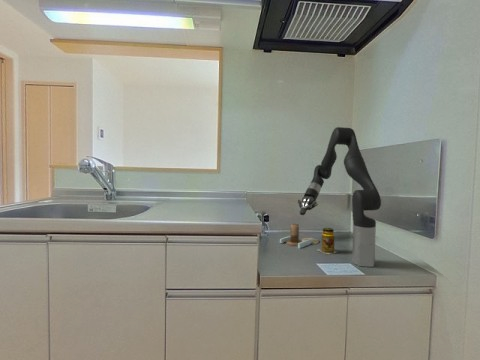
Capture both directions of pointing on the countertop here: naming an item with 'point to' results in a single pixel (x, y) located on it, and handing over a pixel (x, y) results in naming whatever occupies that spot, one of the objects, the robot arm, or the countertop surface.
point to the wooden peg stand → (294, 235)
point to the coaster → (313, 240)
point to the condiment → (327, 241)
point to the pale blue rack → (298, 243)
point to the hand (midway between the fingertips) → (301, 214)
